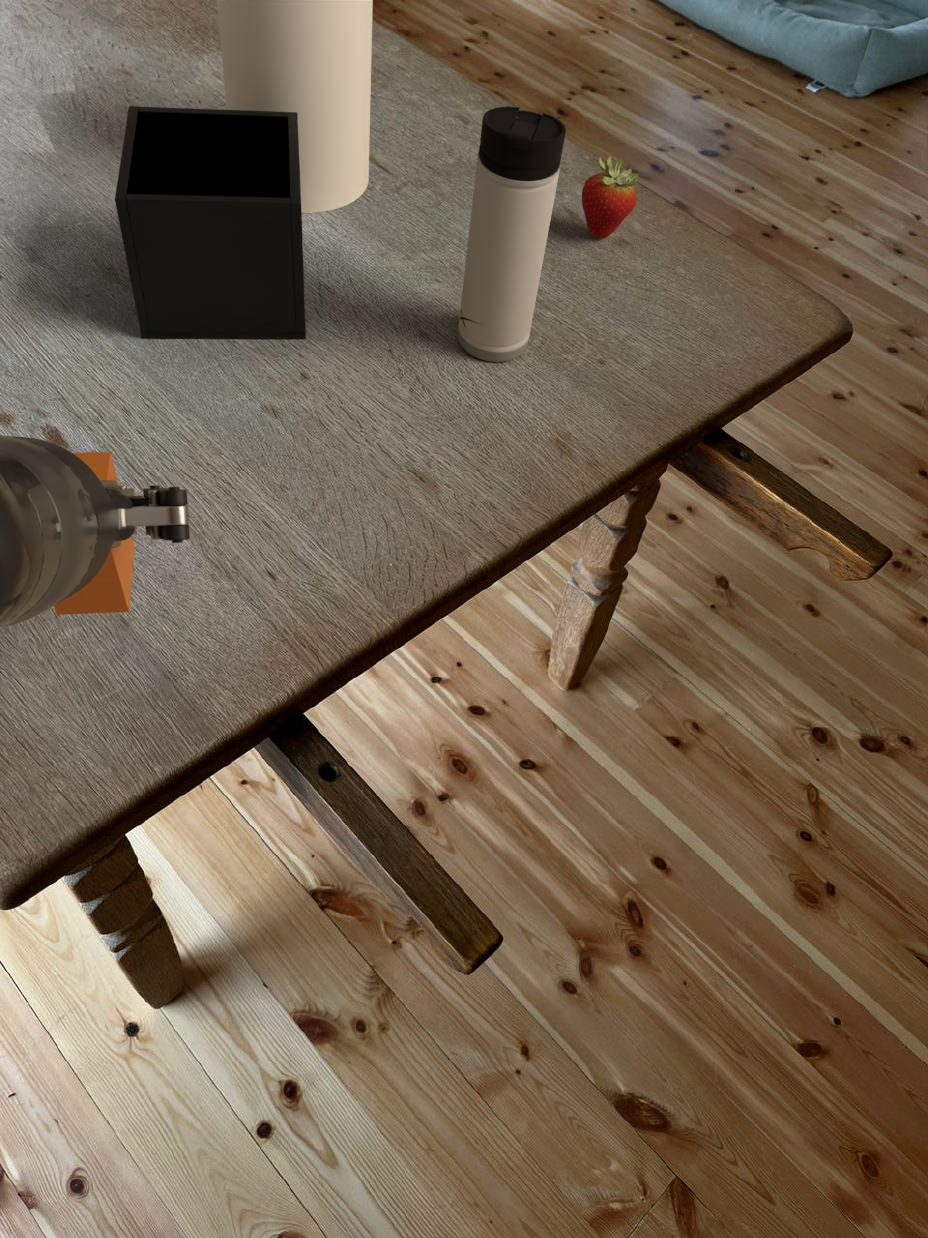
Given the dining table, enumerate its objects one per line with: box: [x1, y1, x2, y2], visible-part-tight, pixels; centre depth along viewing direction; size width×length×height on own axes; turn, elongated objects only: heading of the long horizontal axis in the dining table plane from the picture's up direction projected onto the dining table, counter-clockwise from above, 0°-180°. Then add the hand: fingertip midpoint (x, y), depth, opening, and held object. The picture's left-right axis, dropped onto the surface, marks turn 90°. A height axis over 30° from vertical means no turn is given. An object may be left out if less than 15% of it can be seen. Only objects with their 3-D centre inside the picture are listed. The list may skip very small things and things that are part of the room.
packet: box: [53, 451, 136, 616], centre depth 56 cm, size 4×5×8 cm
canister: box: [216, 0, 374, 214], centre depth 93 cm, size 14×14×20 cm
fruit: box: [581, 155, 640, 240], centre depth 97 cm, size 5×5×8 cm
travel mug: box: [457, 105, 567, 363], centre depth 81 cm, size 6×7×20 cm
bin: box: [114, 105, 307, 340], centre depth 84 cm, size 14×14×13 cm
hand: (86, 508), depth 57 cm, fingers closed on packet, 4 cm apart
